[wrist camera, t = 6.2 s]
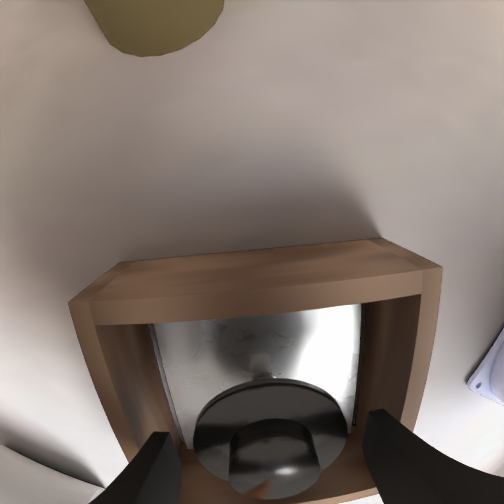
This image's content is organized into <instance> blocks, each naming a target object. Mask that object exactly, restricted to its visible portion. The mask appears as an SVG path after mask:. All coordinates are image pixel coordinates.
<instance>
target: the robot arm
mask: <svg viewBox="0 0 504 504" xmlns="http://www.w3.org/2000/svg"><path fill="white" fill-rule="evenodd" d="M467 386H468V388H469V389H470V390H472V391H474V392H477V393H479V394H481V395H483V396H485V397H487V398H489V399H491V400H493V401H495V402H497V403H500V404H502V405H504V328H503V330H502V332H501V333H500V335H499V336H498V338H497V340H496V341H495V343H494V344H493V346H492V347H491V349H490V351H489V352H488V354H487V355H486V356H485V358H484V359H483V361H482V362H481V364H480V365H479V367H478V368H477V369H476V371H475V372H474V374H473V375H472V376H471V378H470V379H469V381H468V383H467ZM362 449H363V453H364V457H365V460H366V463H367V467H368V469H369V472H370V474H371V476H372V479H373V481H374V483H375V485H376V487H377V490H378V492H379V494H380V496H381V498H382V501H383V503H384V504H504V477H500V476H496V475H492V474H489V473H485V472H482V471H480V470H477V469H474V468H472V467H469V466H467V465H464V464H462V463H460V462H458V461H456V460H454V459H452V458H450V457H448V456H447V455H445V454H443V453H441V452H440V451H438V450H437V449H435V448H434V447H432V446H430V445H429V444H428V443H426V442H425V441H423V440H422V439H421V438H419V437H418V436H417V435H415V434H414V433H413V432H411V431H410V430H409V429H408V428H406V427H405V426H404V425H403V424H401V423H400V422H399V421H398V420H397V419H395V418H394V417H393V416H392V415H391V414H390V413H388V412H387V411H386V410H385V409H383V408H382V409H378V410H374V411H369V412H368V415H367V421H366V427H365V433H364V438H363V444H362ZM181 473H182V464H181V462H180V459H179V456H178V454H177V451H176V448H175V445H174V443H173V440H172V437H171V434H170V432H157V431H154V432H153V433H152V434H151V435H150V437H149V438H148V439H147V441H146V442H145V443H144V445H143V446H142V447H141V449H140V450H139V451H138V453H137V454H136V455H135V457H134V458H133V459H132V460H131V461H130V463H129V464H128V465H127V466H126V467H125V469H124V470H123V471H122V472H121V473H120V474H119V475H118V476H117V477H116V479H115V480H114V481H113V482H112V483H111V484H110V485H109V486H108V487H107V488H106V489H105V490H104V491H103V492H101V493H100V494H99V495H98V496H97V497H96V498H95V499H93V500H92V501H91V502H90V503H88V504H177V503H178V498H179V493H180V487H181Z"/></svg>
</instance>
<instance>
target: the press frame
mask: <svg viewBox="0 0 504 504" xmlns="http://www.w3.org/2000/svg"><path fill="white" fill-rule="evenodd" d="M442 270H443V267H442V266H440V265H438V264H436V263H434V262H432V261H430V260H428V259H426V258H424V257H422V256H420V255H418V254H415V253H413V252H411V251H409V250H407V249H405V248H403V247H401V246H399V245H397V244H395V243H392V242H390V241H388V240H386V239H384V238H377V239H366V240H355V241H344V242H334V243H323V244H312V245H301V246H290V247H280V248H269V249H258V250H247V251H237V252H226V253H215V254H205V255H194V256H183V257H173V258H162V259H152V260H141V261H131V262H120V263H118V264H117V265H116V266H114V267H113V268H112V269H110V270H109V271H108V272H106V273H105V274H104V275H102V276H101V277H100V278H98V279H97V280H96V281H95V282H93V283H92V284H91V285H89V286H88V287H87V288H86V289H84V290H83V291H82V292H80V293H79V294H78V295H77V296H75V297H74V298H73V299H72V300H70V301H69V302H68V305H69V309H70V313H71V316H72V320H73V323H74V327H75V330H76V334H77V337H78V340H79V343H80V346H81V350H82V353H83V356H84V359H85V361H86V364H87V367H88V370H89V373H90V376H91V378H92V381H93V384H94V386H95V389H96V391H97V394H98V397H99V399H100V401H101V404H102V406H103V409H104V411H105V413H106V416H107V418H108V420H109V423H110V425H111V427H112V429H113V432H114V434H115V436H116V438H117V440H118V442H119V444H120V446H121V448H122V450H123V452H124V454H125V456H126V458H127V460H128V462H129V463H130V461H131V460H132V459H133V458H134V457H135V455H136V454H137V453H138V451H139V450H140V449H141V447H142V446H143V445H144V443H145V442H146V441H147V439H148V438H149V437H150V435H151V434H152V433H153V432H154V431H157V432H170V434H171V437H172V440H173V443H174V445H175V448H176V451H177V454H178V456H179V459H180V462H181V464H182V473H181V487H180V493H179V498H178V503H177V504H338V503H343V502H348V501H352V500H356V499H360V498H364V497H368V496H372V495H376V494H379V492H378V490H377V487H376V485H375V483H374V481H373V479H372V476H371V474H370V472H369V469H368V467H367V463H366V460H365V457H364V453H363V449H362V444H363V438H364V433H365V427H366V421H367V415H368V412H369V411H374V410H378V409H382V408H383V409H385V410H386V411H387V412H388V413H390V414H391V415H392V416H393V417H394V418H395V419H397V420H398V421H399V422H400V423H401V424H403V425H404V426H405V427H406V428H408V429H409V430H410V431H411V432H413V430H414V426H415V423H416V419H417V416H418V412H419V408H420V404H421V401H422V397H423V392H424V388H425V384H426V379H427V375H428V370H429V365H430V360H431V355H432V349H433V344H434V338H435V331H436V325H437V317H438V310H439V302H440V292H441V282H442ZM360 303H366V322H365V338H364V352H363V364H362V375H361V385H360V394H359V403H358V411H357V418H356V425H355V426H351V433H348V436H347V440H346V443H345V445H344V448H343V450H342V451H341V453H340V454H339V456H338V457H337V458H336V459H335V460H334V461H333V462H332V463H331V464H330V465H329V466H328V467H326V468H325V469H324V470H322V471H321V472H320V476H319V478H318V479H317V481H316V482H315V483H314V484H313V485H312V486H311V487H309V488H308V489H306V490H305V491H303V492H301V493H299V494H296V495H293V496H290V497H286V498H281V499H257V498H252V497H248V496H245V495H243V494H241V493H239V492H238V491H236V490H235V489H234V488H233V487H232V486H231V484H230V482H228V481H226V480H223V479H221V478H219V477H217V476H216V475H214V474H213V473H211V472H210V471H209V470H207V469H206V468H205V467H204V466H203V465H202V464H201V463H200V461H199V459H198V458H197V456H196V454H195V451H194V449H187V446H186V443H181V442H180V439H179V436H178V433H177V430H176V427H175V424H174V420H173V417H172V414H171V411H170V407H169V404H168V401H167V397H166V394H165V390H164V387H163V383H162V379H161V376H160V372H159V368H158V364H157V361H156V357H155V353H154V349H153V345H152V340H151V336H150V332H149V327H148V323H168V322H185V321H200V320H214V319H227V318H239V317H250V316H260V315H270V314H280V313H289V312H298V311H307V310H315V309H323V308H331V307H338V306H346V305H353V304H360Z"/></svg>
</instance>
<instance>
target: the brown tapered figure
mask: <svg viewBox="0 0 504 504" xmlns="http://www.w3.org/2000/svg"><path fill="white" fill-rule="evenodd" d="M84 1H85V3H86V4H87V6H88V8H89V10H90V11H91V13H92V15H93V16H94V18H95V20H96V21H97V23H98V25H99V26H100V28H101V30H102V31H103V33H104V35H105V36H106V38H107V40H108V41H109V43H110V44H111V45H112V46H114V47H115V48H117V49H118V50H120V51H121V52H123V53H127V54H131V55H135V56H140V57H144V56H161V55H164V54H167V53H170V52H174V51H177V50H180V49H182V48H184V47H186V46H188V45H189V44H191V43H193V42H195V41H196V40H198V39H200V38H201V37H202V36H203V35H204V34H205V33H206V32H207V31H208V30H209V29H210V28H211V27H212V26H213V25H214V24H215V22H216V21H217V19H218V17H219V15H220V14H221V12H222V10H223V4H224V0H84Z"/></svg>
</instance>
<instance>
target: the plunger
mask: <svg viewBox="0 0 504 504" xmlns="http://www.w3.org/2000/svg"><path fill="white" fill-rule="evenodd" d="M361 304H362V303H360V304H353V305H346V306H338V307H331V308H323V309H315V310H307V311H298V312H289V313H280V314H270V315H260V316H250V317H239V318H227V319H214V320H200V321H185V322H168V323H153V324H154V329H155V334H156V338H157V342H158V347H159V351H160V355H161V359H162V363H163V367H164V371H165V375H166V378H167V382H168V386H169V390H170V393H171V397H172V400H173V404H174V407H175V411H176V414H177V417H178V421H179V424H180V427H181V430H182V434H183V437H184V440H185V443H186V446H187V449H194V451H195V454H196V456H197V458H198V459H199V461H200V463H201V464H202V465H203V466H204V467H205V468H206V469H207V470H209V471H210V472H211V473H213V474H214V475H216V476H217V477H219V478H221V479H223V480H226V481H228V482H230V484H231V486H232V487H233V488H234V489H235V490H236V491H238V492H239V493H241V494H243V495H245V496H248V497H252V498H257V499H281V498H286V497H290V496H293V495H296V494H299V493H301V492H303V491H305V490H306V489H308V488H309V487H311V486H312V485H313V484H314V483H315V482H316V481H317V479H318V478H319V476H320V472H321V471H322V470H324V469H325V468H326V467H328V466H329V465H330V464H331V463H332V462H333V461H334V460H335V459H336V458H337V457H338V456H339V454H340V453H341V451H342V450H343V448H344V445H345V443H346V440H347V436H348V433H351V426H352V419H353V411H354V402H355V393H356V383H357V372H358V360H359V345H360V328H361Z"/></svg>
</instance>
